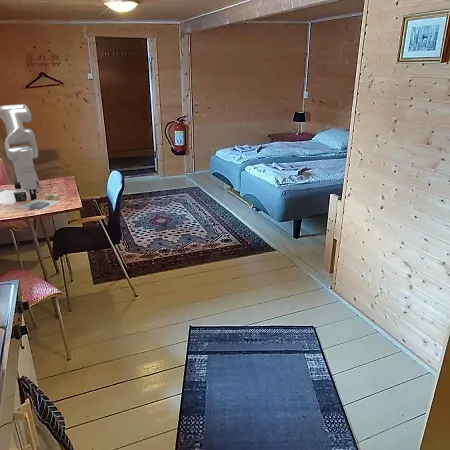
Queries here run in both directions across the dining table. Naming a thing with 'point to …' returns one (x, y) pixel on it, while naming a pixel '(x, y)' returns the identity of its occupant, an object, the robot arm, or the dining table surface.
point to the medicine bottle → (20, 193)
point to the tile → (39, 205)
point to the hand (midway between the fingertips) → (34, 199)
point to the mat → (39, 201)
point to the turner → (52, 197)
